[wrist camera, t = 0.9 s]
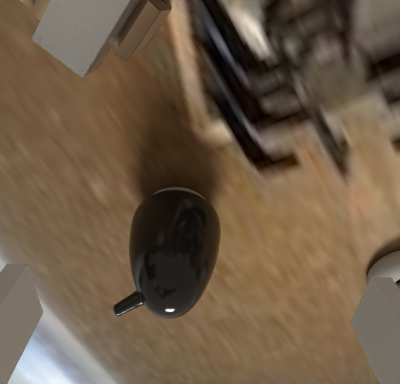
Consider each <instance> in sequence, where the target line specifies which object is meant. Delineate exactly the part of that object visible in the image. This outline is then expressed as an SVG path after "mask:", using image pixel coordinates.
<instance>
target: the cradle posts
mask: <svg viewBox="0 0 400 384" xmlns="http://www.w3.org/2000/svg"><path fill="white" fill-rule="evenodd" d="M50 1H51V0H50ZM171 10H172V9H171V8H170V7H169V6H168V5H167V4H165V3H164V2H163V1H162V0H141V1H140V2H139V4H138V5H137V7H136V9H135V10H134V12H133V14H132V15H131V17H130V18H129V20H128V22H127V23H126V25H125V26H124V28H123V30H122V31H121V33H120V34H119V36H118V38H117V39H116V41H115V42H114V44H113V46H114V47H115V48H116V49H117V51H116V53H115V54H117V55H118V56H119V57H120V58H122V59H123V60H124V61H125V62H127V61H128V60H130V59H131V58H132V57H134V56H135V55H136V54H138V53H139V52H140V51H141V50H143V49H144V48H145V47H146V46H147V45H148V44H149V42H150V41H151V39H152V38H153V36H154V35H155V33H156V32H157V30H158V29H159V27H160V26H161V24H162V23H163V21H164V20H165V18H166V17H167V15H168V14H169V12H170V11H171Z"/></svg>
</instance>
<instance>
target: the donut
mask: <svg viewBox="0 0 400 384" xmlns="http://www.w3.org/2000/svg"><path fill="white" fill-rule="evenodd" d="M371 277H390V278H392V279H393V281H394V282H396V281H398V280H399V279H400V250H399V251H395V252H392V253H390V254H388V255H386V256H384V257H382V258H381V259H379V260H378V261H377V262H376V263H375V264H374V265H373V266H372V268H371V269H370V270H369V272H368V276H367V280H366V283H367V286H368V284H369V282H370V279H371ZM395 284H396V285H397V286H398V288H399V289H400V282H399V283H395Z"/></svg>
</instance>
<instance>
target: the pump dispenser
mask: <svg viewBox="0 0 400 384" xmlns="http://www.w3.org/2000/svg"><path fill="white" fill-rule="evenodd" d="M220 235H221V229H220V221H219V217H218V215H217V213H216V211H215V209H214V208H213V207H212V205H211V204H210V203H209V202H208V201H207V200H206V199H205V198H204V197H203V196H202V195H200V194H199V193H197V192H195V191H193V190H191V189H188V188H183V187H169V188H165V189H162V190H159V191H157V192H155V193H154V194H152V195H151V196H149V197H148V198H146V199H145V200H144V201H143V202H142V203H141V204H140V205H139V206H138V208H137V209H136V211H135V214H134V216H133V219H132V223H131V230H130V240H129V256H130V266H131V272H132V276H133V280H134V283H135V286H136V291H135V292H134V293H132V294H131V295H129V296H128V297H126V298H125V299H123V300H121V301H120V302H118V303H117V304H115V305H114V307H113V311H114V313H115V315H117V316H120V315H122V314H125V313H127V312H129V311H131V310H133V309H135V308H138V307H140V306H142V305H145V307H146V308H147V309H148V310H149V311H150V312H152V313H153V314H154V315H156V316H159V317H162V318H176V317H180V316H182V315H184V314H186V313H187V312H188V311H190V310H191V309H192V308H193V307H194V306H195V304H196V303H197V302H198V301H199V299H200V298H201V296H202V294H203V293H204V291H205V289H206V287H207V285H208V283H209V280H210V278H211V276H212V273H213V270H214V267H215V264H216V261H217V256H218V251H219V245H220Z"/></svg>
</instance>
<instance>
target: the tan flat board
mask: <svg viewBox="0 0 400 384" xmlns="http://www.w3.org/2000/svg"><path fill="white" fill-rule="evenodd" d="M20 1H21V2H22V3H24V4H25V5H26V6H27V7H29V8H30V9H31V12H30V13H31V14H32V15H33V16H35V17H36V18H37V19H38V20H40V21H41V19H42V17H43V15H44V13H45V11H46V9H47V7H48V5H49V3H50V0H20Z"/></svg>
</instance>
